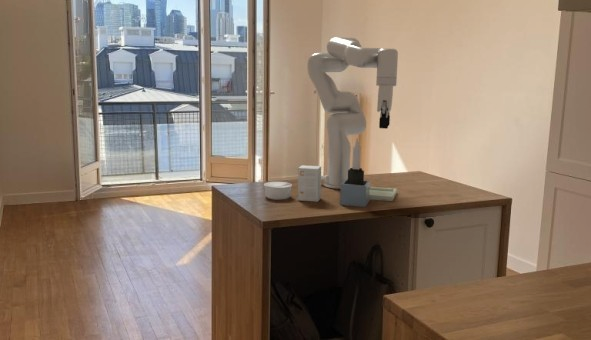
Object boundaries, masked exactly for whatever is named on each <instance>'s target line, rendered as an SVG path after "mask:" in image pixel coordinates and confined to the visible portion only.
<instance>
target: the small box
mask: <svg viewBox="0 0 591 340" xmlns="http://www.w3.org/2000/svg"><path fill="white" fill-rule="evenodd" d="M297 169H298V170H297V174H298V175H297V201H301V202H303V201H304V202H317V203H318V202H319V201H320V200H321V198H322V181H321V176H322V166H321V165H320V166H319V165H303V164H301V165H300V166H299V167H298V168H297Z"/></svg>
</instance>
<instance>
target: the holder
mask: <svg viewBox="0 0 591 340" xmlns="http://www.w3.org/2000/svg"><path fill="white" fill-rule="evenodd" d="M370 187H371V181H370V180H364V185H352V184H348V179H345V180H344V181H343V182H342V183H341V189H340V198H339V201H340V203H339V205H340V206H350V207H351V206H352V207H363V208H364V207H365V208H366V207H367V205H368V204H369V202H370V199H369V193H370Z"/></svg>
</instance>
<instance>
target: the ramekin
mask: <svg viewBox="0 0 591 340" xmlns="http://www.w3.org/2000/svg"><path fill="white" fill-rule="evenodd" d="M263 187H264V195H265V197H266V199H270V200H276V201H277V200H281V201H282V200H287V199H289V198H290V196H291V192H292V188H293V184H292V183H290V182H286V181H270V182H269V181H268V182H265V183H263Z"/></svg>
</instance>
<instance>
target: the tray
mask: <svg viewBox="0 0 591 340" xmlns="http://www.w3.org/2000/svg"><path fill="white" fill-rule="evenodd" d="M396 195H397V188H389V187H375V186H370V193H369V201H370V200H371V201H386V202H393V201H394V199H395V197H396Z"/></svg>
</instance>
